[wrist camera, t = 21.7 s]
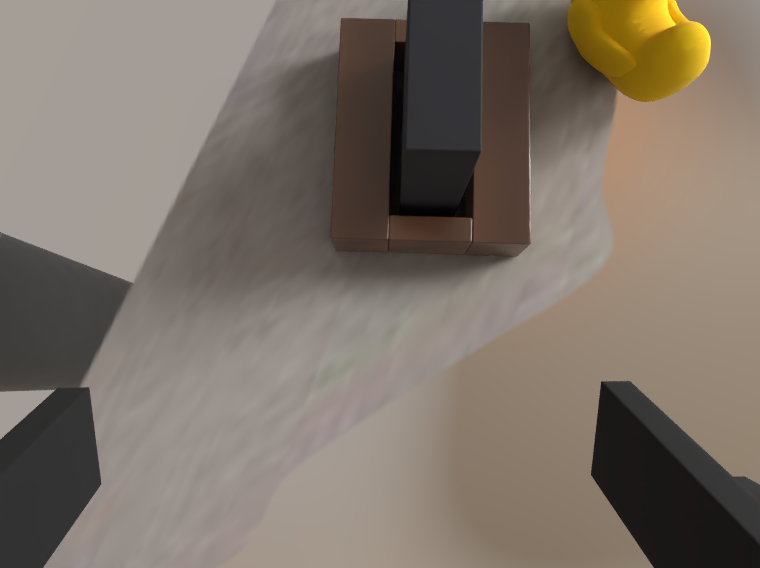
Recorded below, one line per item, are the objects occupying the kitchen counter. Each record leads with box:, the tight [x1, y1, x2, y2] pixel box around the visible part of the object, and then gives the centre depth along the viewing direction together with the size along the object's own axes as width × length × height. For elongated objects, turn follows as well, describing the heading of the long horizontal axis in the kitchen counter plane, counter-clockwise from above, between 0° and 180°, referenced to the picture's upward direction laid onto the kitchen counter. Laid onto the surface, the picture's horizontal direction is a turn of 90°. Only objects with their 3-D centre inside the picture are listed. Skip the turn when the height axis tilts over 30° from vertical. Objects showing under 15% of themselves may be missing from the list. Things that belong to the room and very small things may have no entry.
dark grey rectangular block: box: [399, 0, 483, 217], centre depth 29 cm, size 3×8×10 cm, turn 178°
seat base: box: [331, 18, 531, 256], centre depth 32 cm, size 10×12×3 cm
